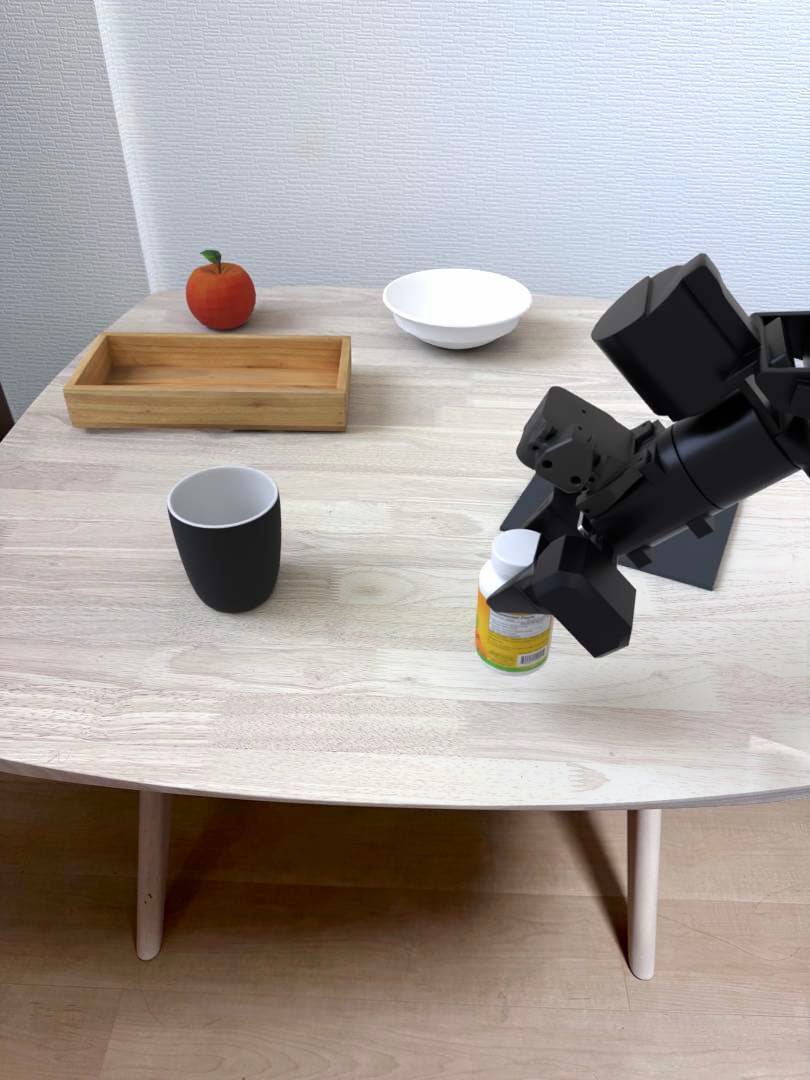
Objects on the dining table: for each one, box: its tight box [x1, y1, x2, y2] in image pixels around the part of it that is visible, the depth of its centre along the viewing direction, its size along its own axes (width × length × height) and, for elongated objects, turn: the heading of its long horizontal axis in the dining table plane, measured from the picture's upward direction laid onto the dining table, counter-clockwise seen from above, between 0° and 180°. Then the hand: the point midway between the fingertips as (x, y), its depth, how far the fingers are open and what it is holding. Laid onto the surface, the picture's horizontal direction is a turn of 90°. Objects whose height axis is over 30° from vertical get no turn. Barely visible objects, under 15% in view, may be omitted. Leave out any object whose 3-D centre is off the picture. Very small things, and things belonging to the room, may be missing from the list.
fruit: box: [185, 249, 257, 331], centre depth 116 cm, size 10×10×10 cm
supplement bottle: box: [474, 529, 555, 677], centre depth 58 cm, size 5×5×10 cm
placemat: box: [499, 473, 740, 592], centre depth 84 cm, size 20×16×1 cm
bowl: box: [382, 267, 533, 350], centre depth 114 cm, size 20×20×6 cm
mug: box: [166, 464, 282, 614], centre depth 72 cm, size 12×9×10 cm
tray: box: [62, 331, 352, 432], centre depth 100 cm, size 31×15×6 cm, turn 91°
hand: (498, 578), depth 58 cm, fingers closed on supplement bottle, 5 cm apart
